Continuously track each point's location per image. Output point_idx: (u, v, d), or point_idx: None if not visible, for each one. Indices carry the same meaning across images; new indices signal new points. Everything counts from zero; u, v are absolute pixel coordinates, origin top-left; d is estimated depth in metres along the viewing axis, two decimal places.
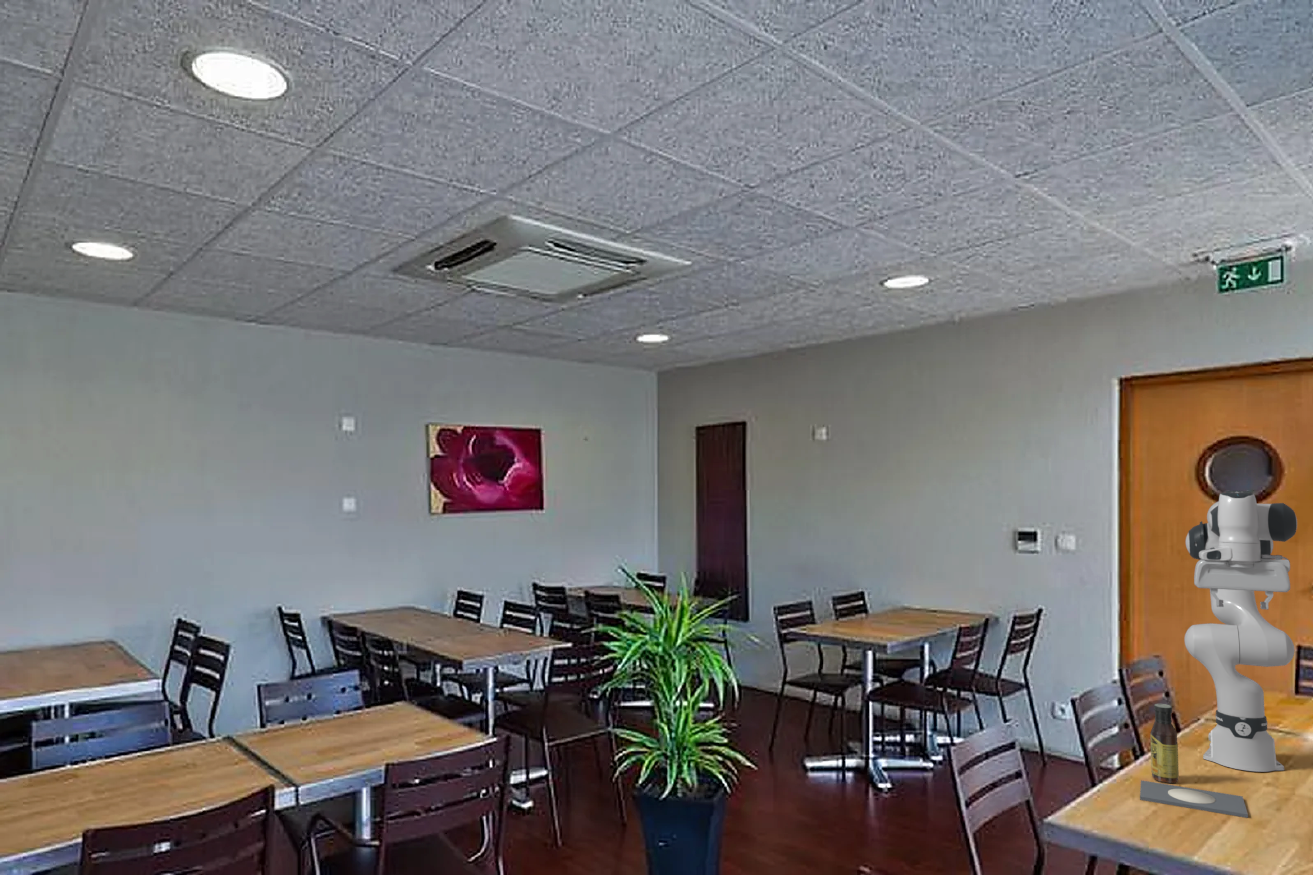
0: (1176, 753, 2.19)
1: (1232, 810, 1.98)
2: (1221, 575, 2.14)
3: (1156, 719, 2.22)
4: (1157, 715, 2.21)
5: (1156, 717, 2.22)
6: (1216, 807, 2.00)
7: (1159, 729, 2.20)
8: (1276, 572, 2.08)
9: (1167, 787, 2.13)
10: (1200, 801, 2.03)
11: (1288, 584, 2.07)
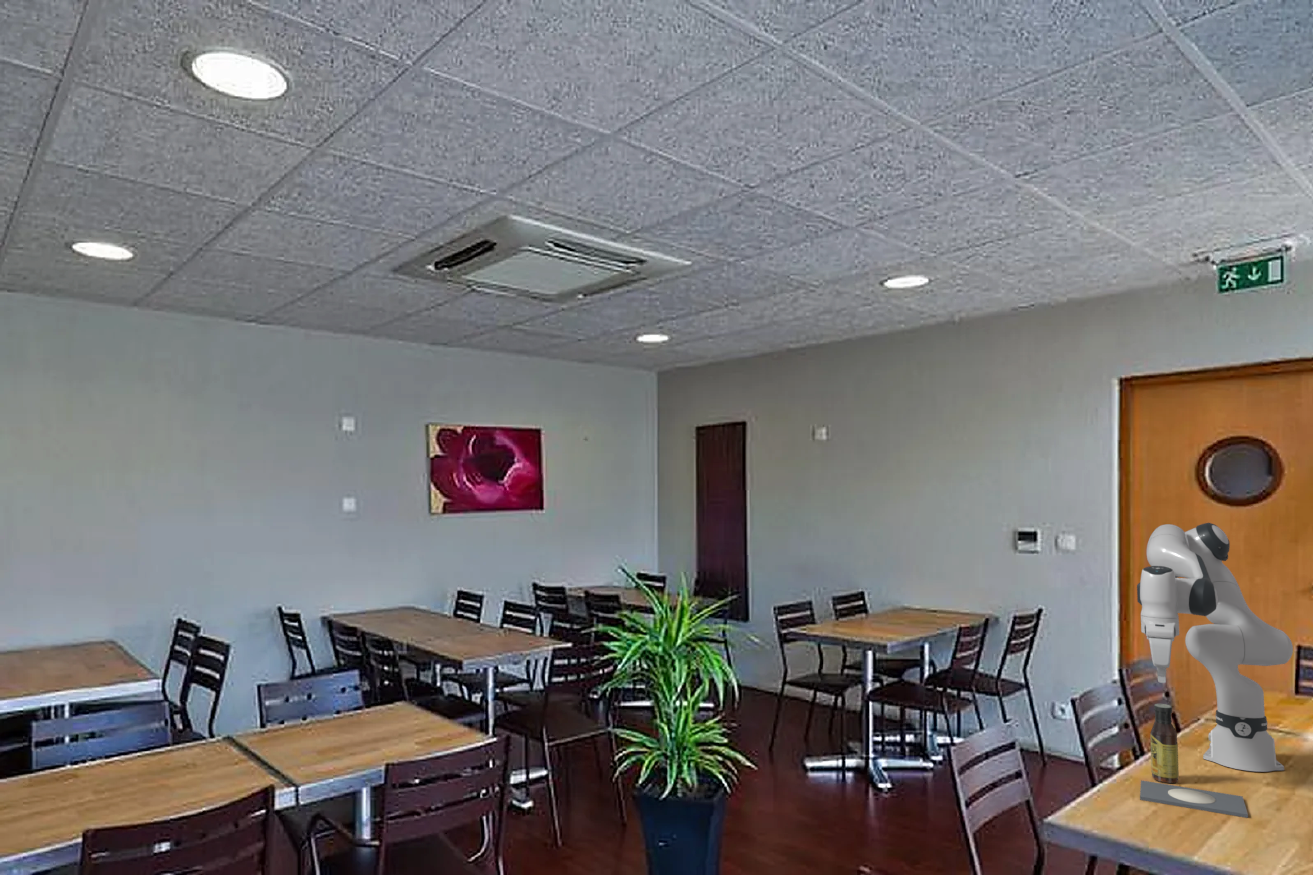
0: (1176, 753, 2.19)
1: (1232, 810, 1.98)
2: None
3: (1156, 719, 2.22)
4: (1157, 715, 2.21)
5: (1156, 717, 2.22)
6: (1216, 807, 2.00)
7: (1159, 729, 2.20)
8: None
9: (1167, 787, 2.13)
10: (1200, 801, 2.03)
11: None
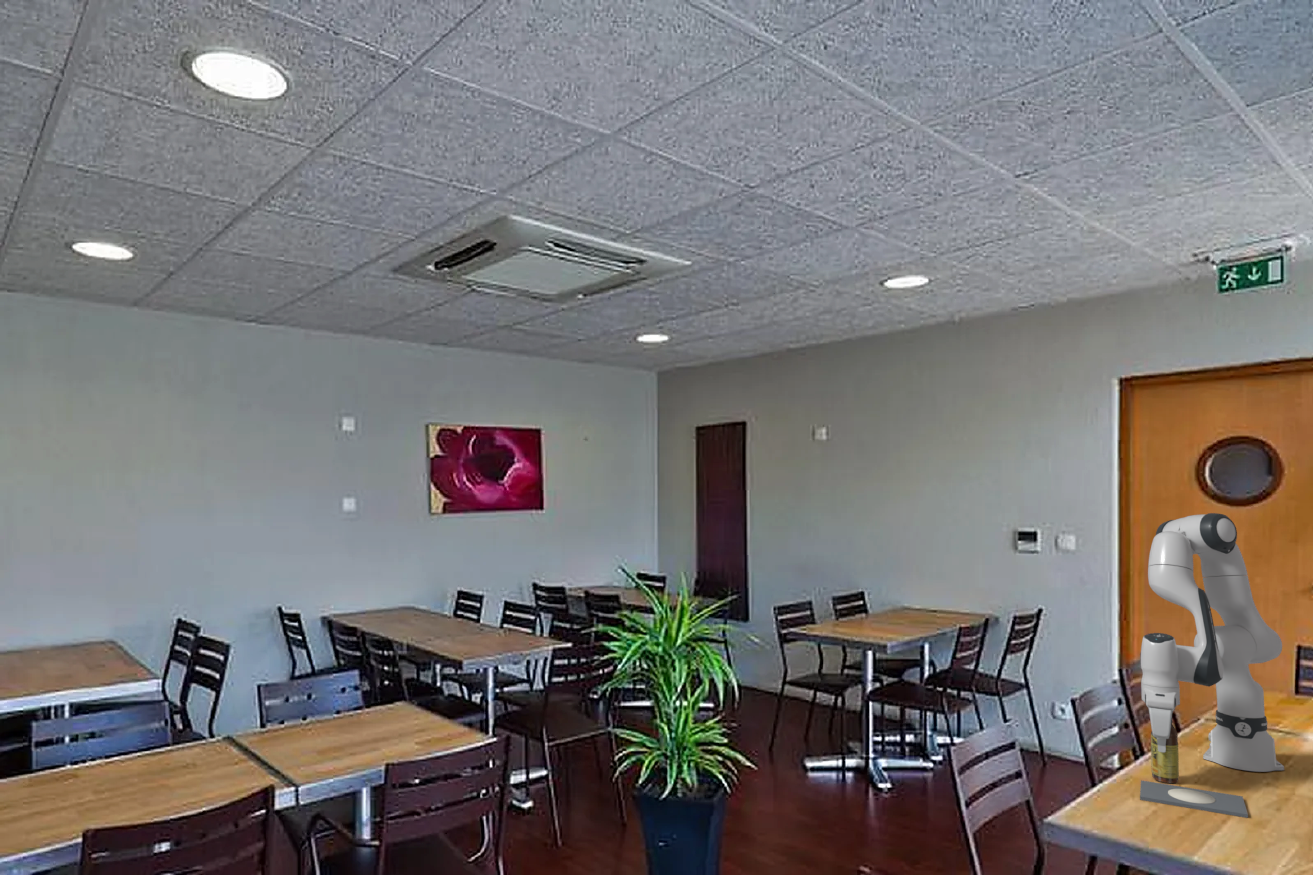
0: (1176, 753, 2.19)
1: (1232, 810, 1.98)
2: None
3: None
4: None
5: None
6: (1216, 807, 2.00)
7: None
8: None
9: (1167, 787, 2.13)
10: (1200, 801, 2.03)
11: None
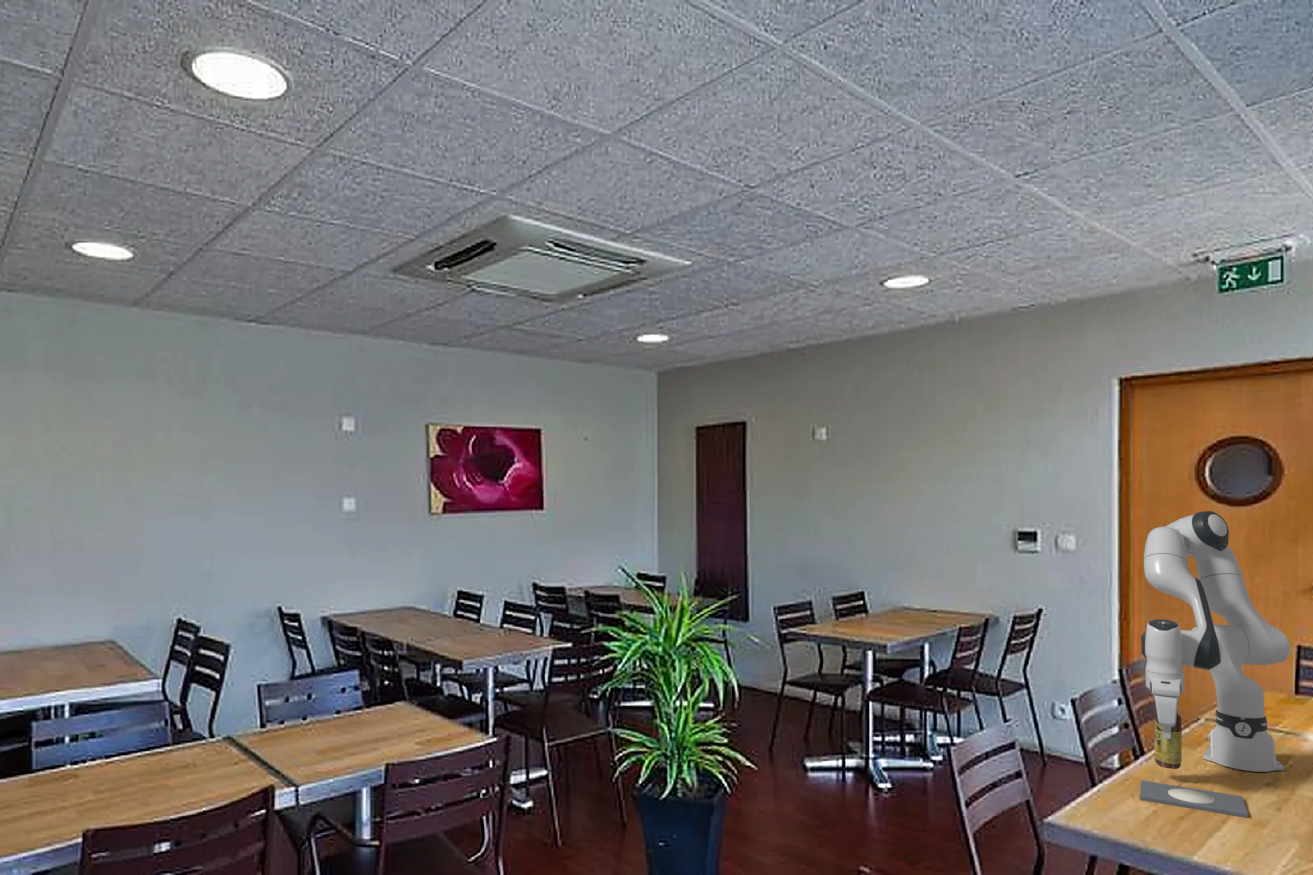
0: (1180, 739, 2.19)
1: (1232, 810, 1.98)
2: None
3: None
4: None
5: None
6: (1216, 807, 2.00)
7: None
8: None
9: (1167, 787, 2.13)
10: (1200, 801, 2.03)
11: None
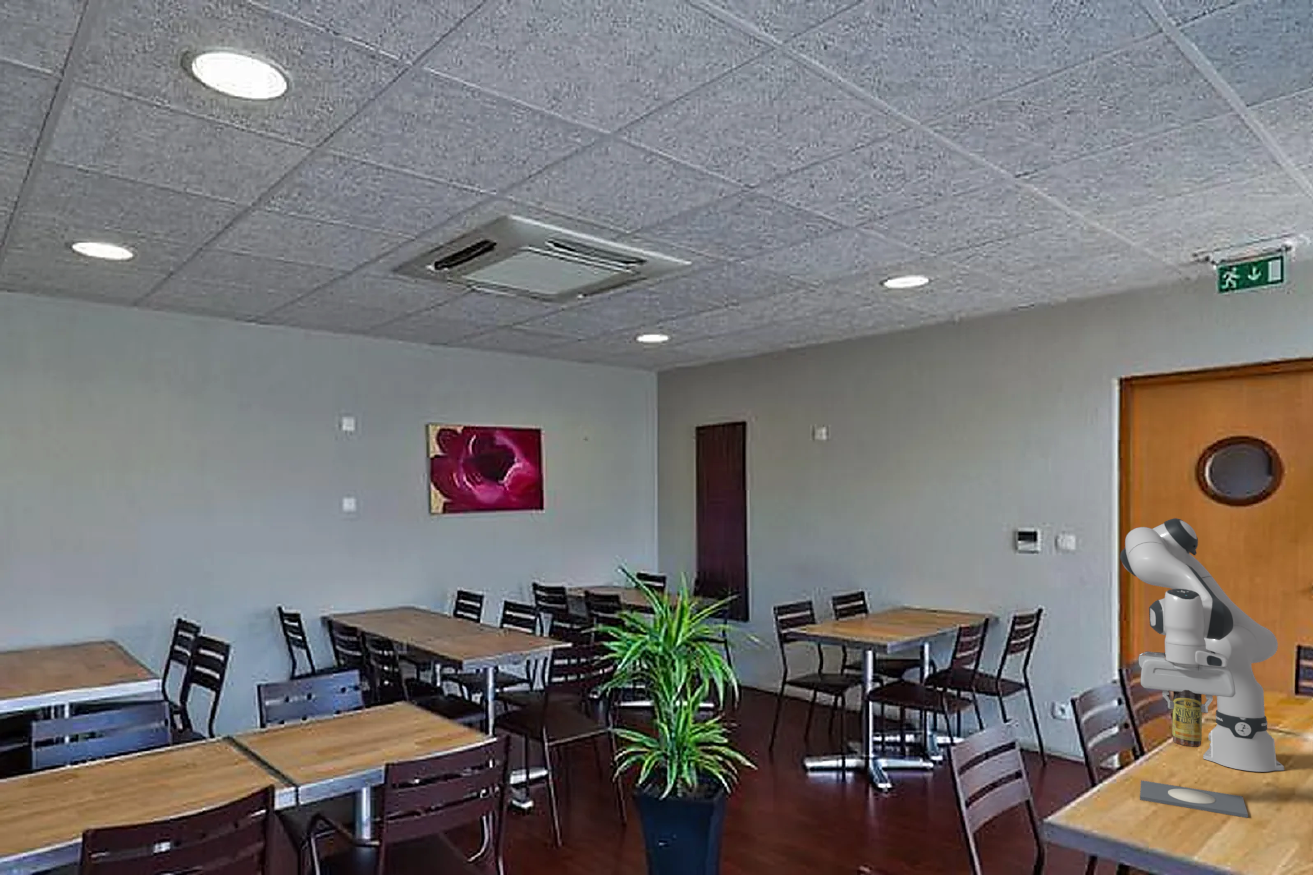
0: None
1: (1232, 810, 1.98)
2: None
3: None
4: None
5: None
6: (1216, 807, 2.00)
7: None
8: None
9: (1167, 787, 2.13)
10: (1200, 801, 2.03)
11: None
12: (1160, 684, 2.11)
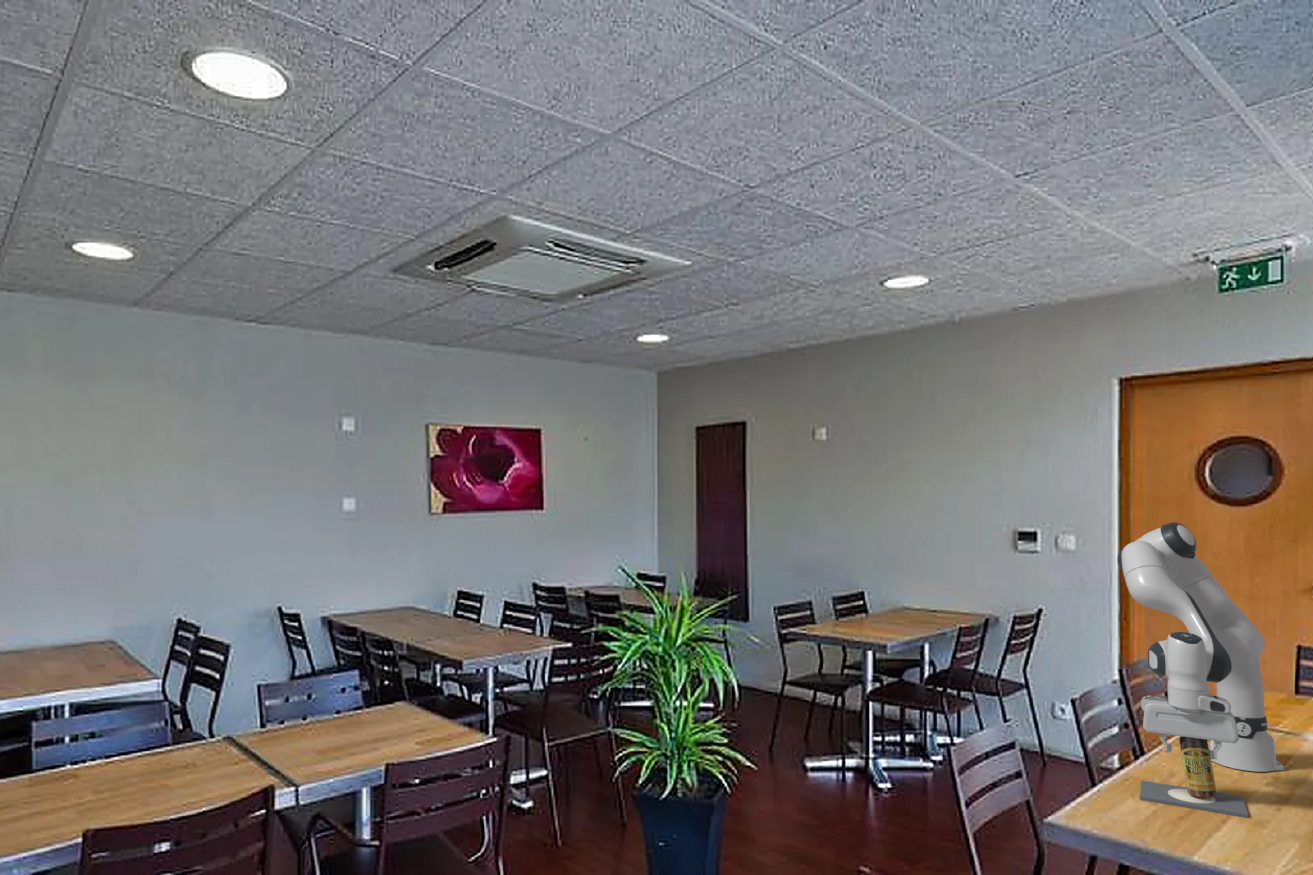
0: None
1: (1232, 810, 1.98)
2: None
3: None
4: None
5: None
6: (1216, 807, 2.00)
7: None
8: None
9: (1167, 787, 2.13)
10: (1200, 801, 2.03)
11: None
12: (1163, 728, 2.09)
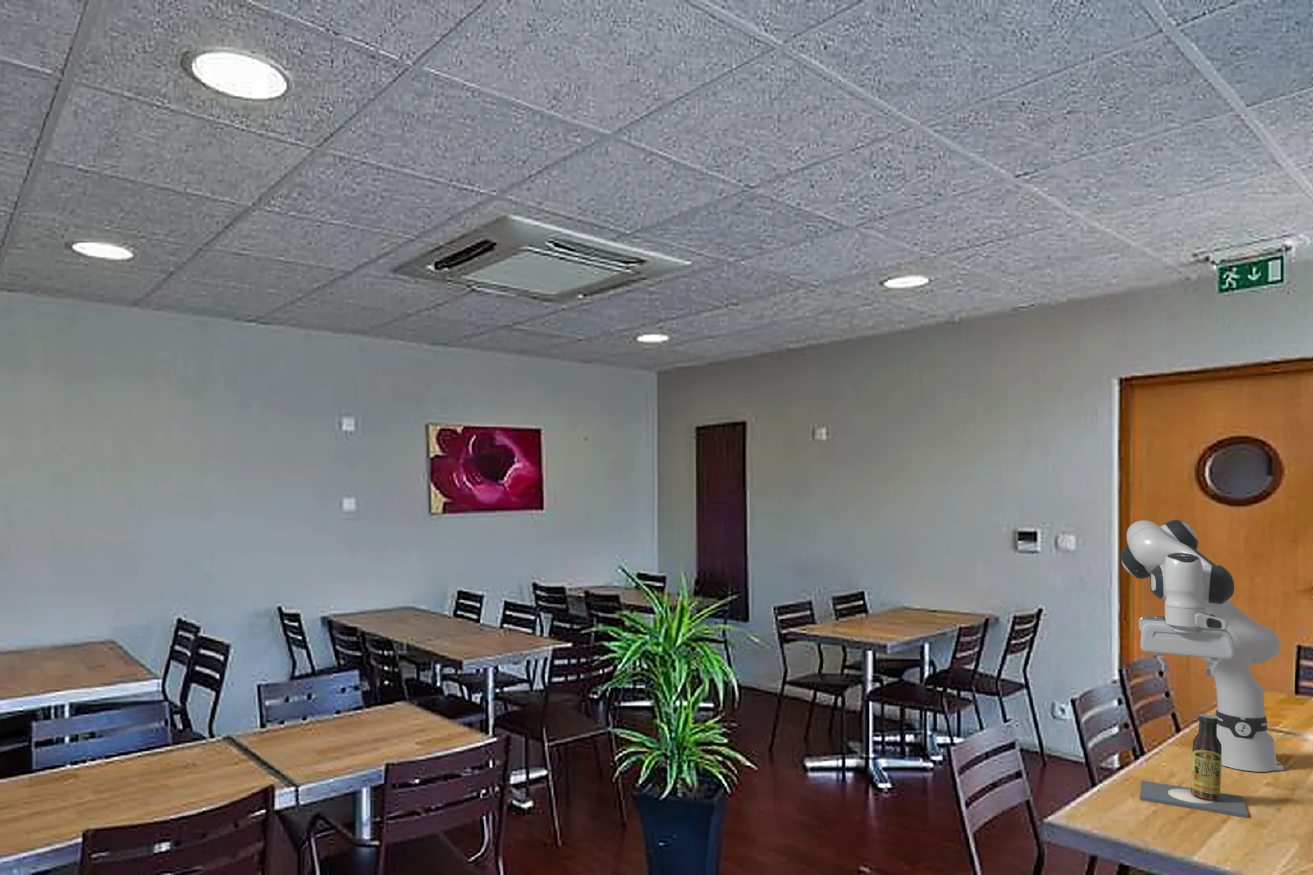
0: None
1: (1232, 810, 1.98)
2: None
3: (1212, 733, 2.05)
4: (1214, 728, 2.05)
5: (1212, 731, 2.05)
6: (1216, 807, 2.00)
7: (1217, 742, 2.05)
8: None
9: (1167, 787, 2.13)
10: (1200, 801, 2.03)
11: None
12: (1160, 647, 2.11)
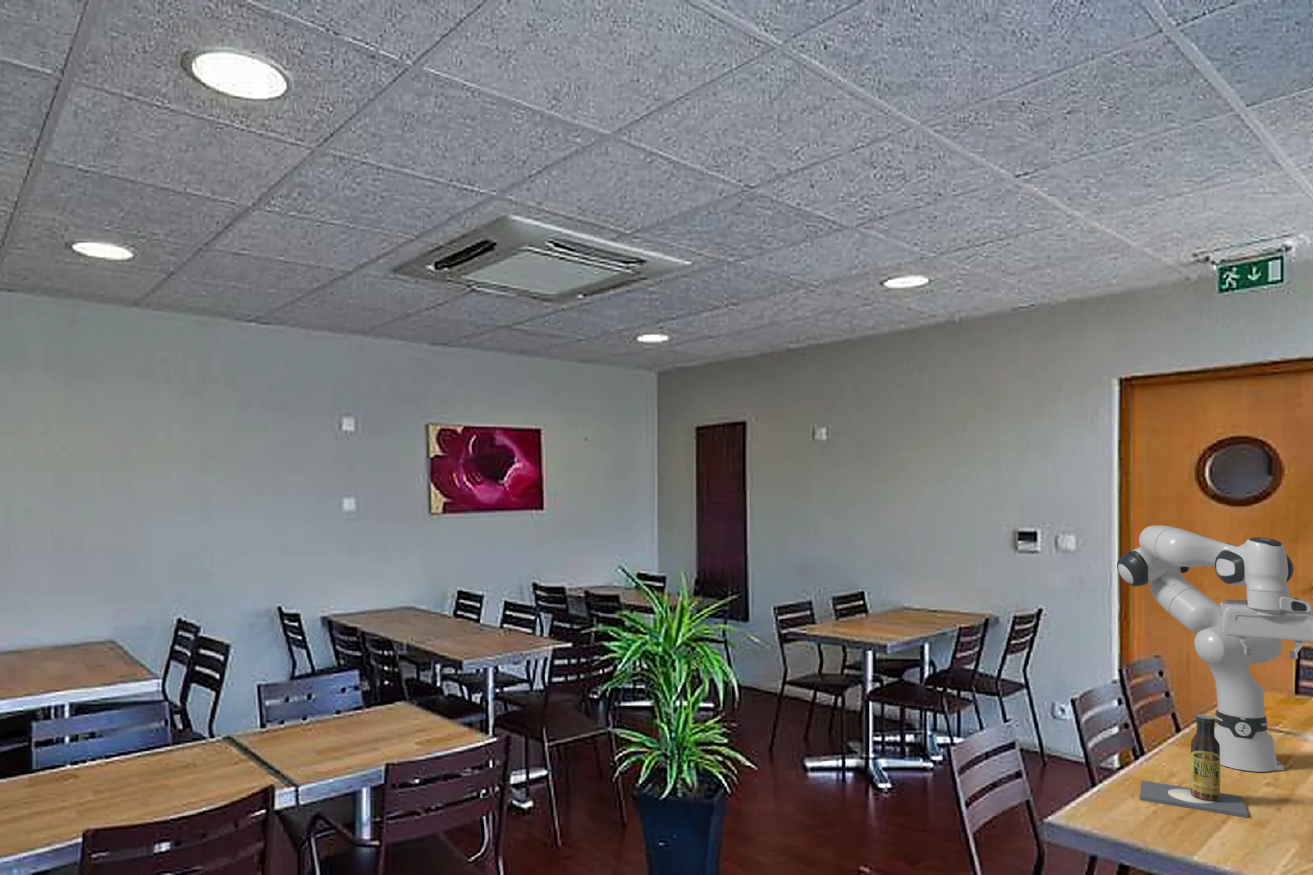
0: None
1: (1232, 810, 1.98)
2: None
3: (1210, 733, 2.05)
4: (1212, 729, 2.05)
5: (1210, 731, 2.05)
6: (1216, 807, 2.00)
7: (1215, 742, 2.05)
8: None
9: (1167, 787, 2.13)
10: (1200, 801, 2.03)
11: None
12: (1242, 630, 2.13)
